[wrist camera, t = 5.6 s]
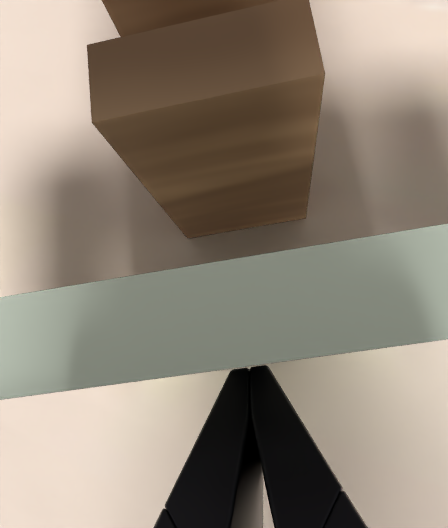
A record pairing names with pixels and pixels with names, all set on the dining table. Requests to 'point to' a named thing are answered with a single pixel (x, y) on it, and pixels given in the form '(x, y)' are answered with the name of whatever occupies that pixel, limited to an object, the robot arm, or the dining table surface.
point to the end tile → (228, 314)
